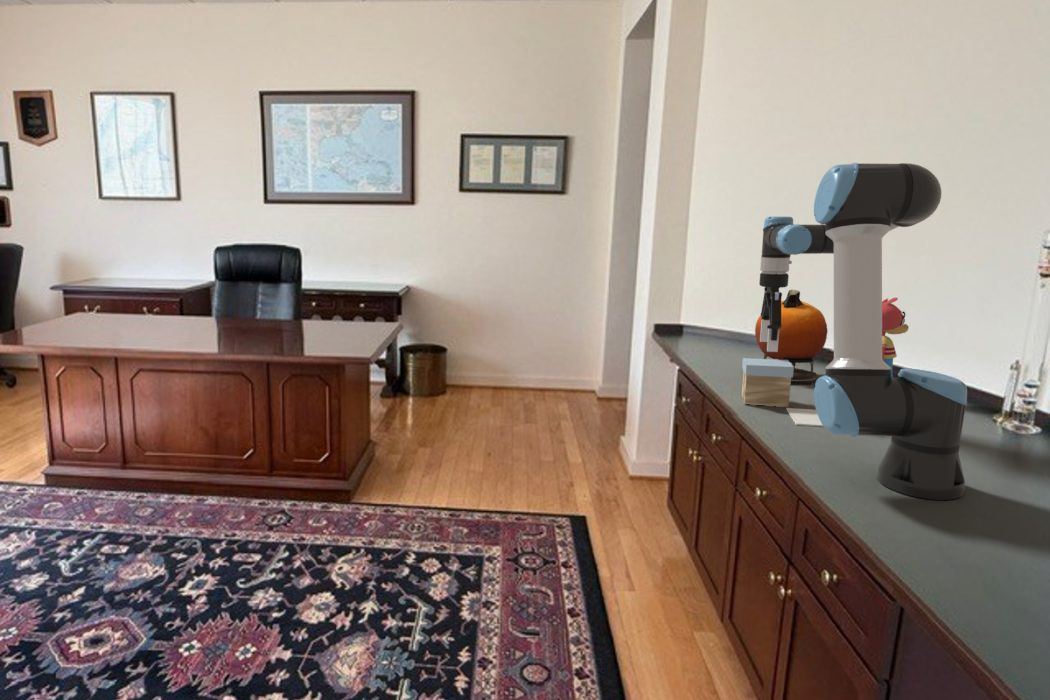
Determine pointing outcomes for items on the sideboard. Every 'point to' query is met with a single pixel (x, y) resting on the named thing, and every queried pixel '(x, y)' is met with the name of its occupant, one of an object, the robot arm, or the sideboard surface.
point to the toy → (891, 329)
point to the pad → (804, 417)
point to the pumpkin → (797, 336)
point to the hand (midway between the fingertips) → (768, 346)
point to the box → (766, 390)
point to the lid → (767, 367)
